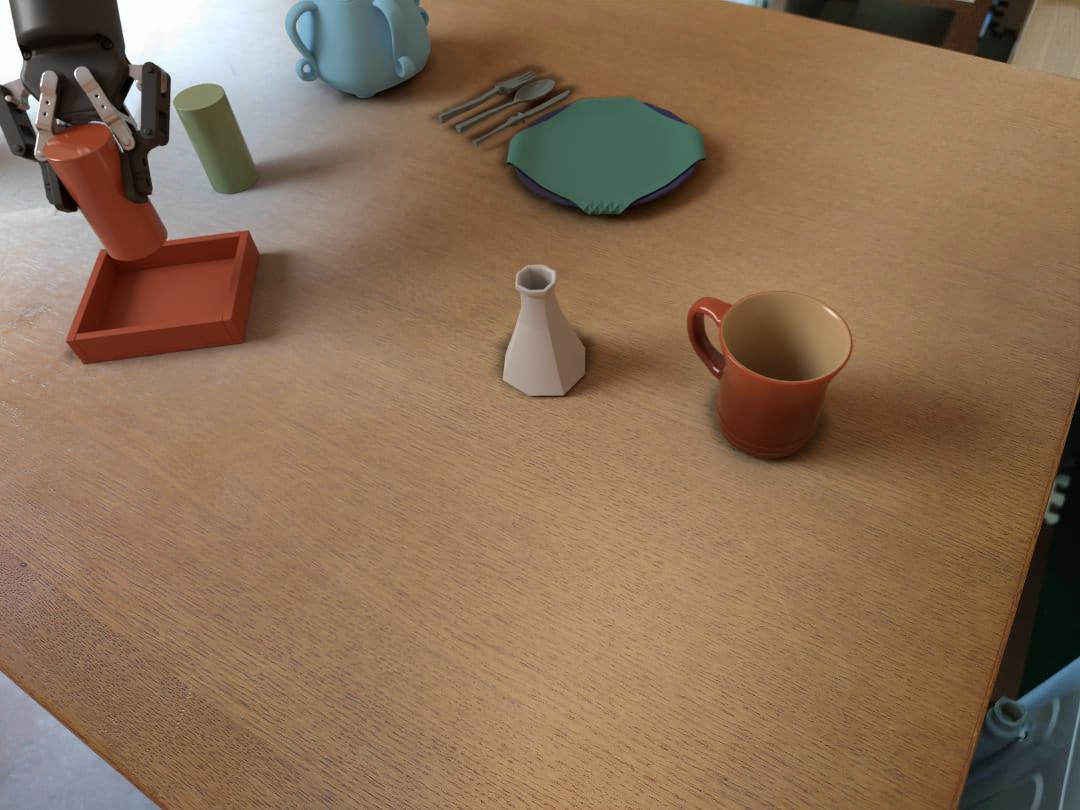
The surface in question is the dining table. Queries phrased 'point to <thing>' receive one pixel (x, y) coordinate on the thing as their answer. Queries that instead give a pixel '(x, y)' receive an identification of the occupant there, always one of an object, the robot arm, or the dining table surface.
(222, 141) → the sage canister
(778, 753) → the dining table surface
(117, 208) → the terracotta canister
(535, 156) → the cutlery set
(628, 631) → the dining table surface
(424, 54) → the decorative pot
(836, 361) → the mug
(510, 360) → the flask
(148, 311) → the terracotta tray
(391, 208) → the dining table surface
